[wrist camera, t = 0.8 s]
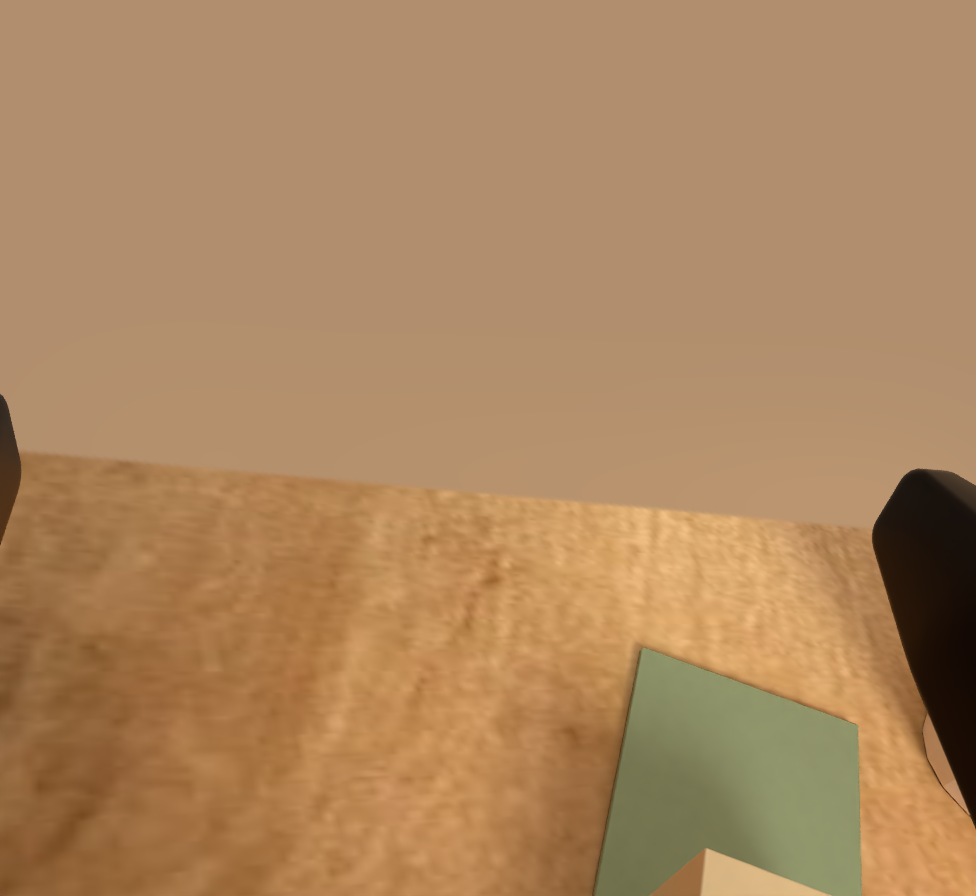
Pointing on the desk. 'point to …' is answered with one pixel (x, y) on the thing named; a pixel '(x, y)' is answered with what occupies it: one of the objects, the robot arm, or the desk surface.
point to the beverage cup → (941, 762)
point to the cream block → (729, 879)
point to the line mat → (729, 784)
